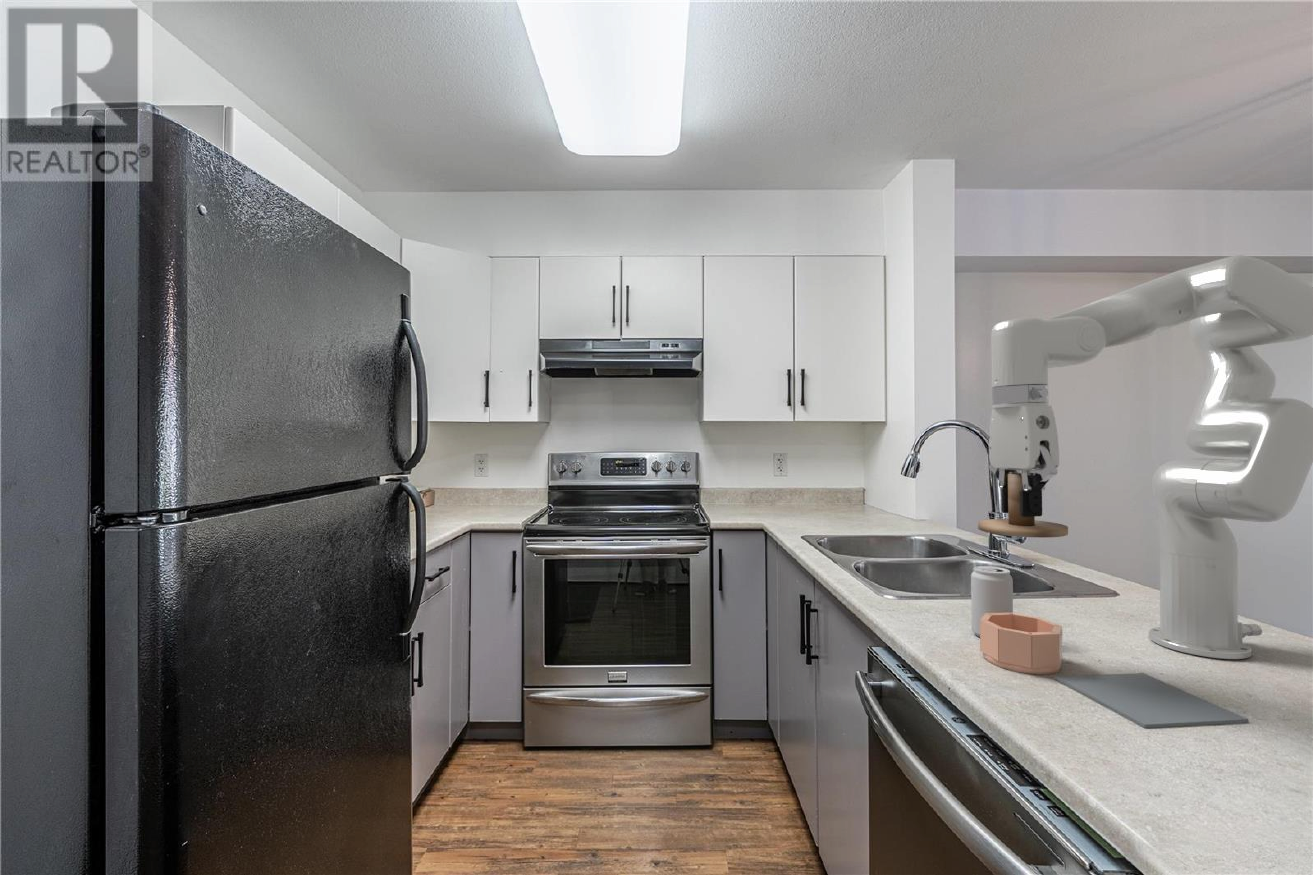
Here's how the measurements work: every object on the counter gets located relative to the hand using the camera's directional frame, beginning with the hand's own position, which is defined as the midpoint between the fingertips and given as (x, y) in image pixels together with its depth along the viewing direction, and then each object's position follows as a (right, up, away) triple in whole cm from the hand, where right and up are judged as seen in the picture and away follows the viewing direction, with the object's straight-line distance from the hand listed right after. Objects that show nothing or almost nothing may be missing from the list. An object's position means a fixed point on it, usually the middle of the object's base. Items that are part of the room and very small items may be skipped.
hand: (1021, 513), depth 91 cm
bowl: (0, -23, 0) cm, 23 cm away
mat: (+8, -23, -13) cm, 28 cm away
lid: (0, -3, 0) cm, 3 cm away
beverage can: (+2, -24, +11) cm, 26 cm away
